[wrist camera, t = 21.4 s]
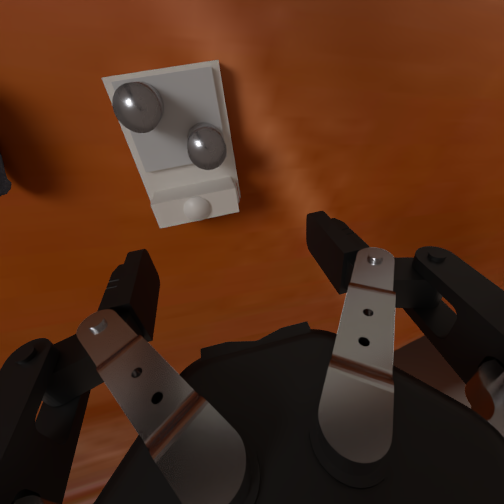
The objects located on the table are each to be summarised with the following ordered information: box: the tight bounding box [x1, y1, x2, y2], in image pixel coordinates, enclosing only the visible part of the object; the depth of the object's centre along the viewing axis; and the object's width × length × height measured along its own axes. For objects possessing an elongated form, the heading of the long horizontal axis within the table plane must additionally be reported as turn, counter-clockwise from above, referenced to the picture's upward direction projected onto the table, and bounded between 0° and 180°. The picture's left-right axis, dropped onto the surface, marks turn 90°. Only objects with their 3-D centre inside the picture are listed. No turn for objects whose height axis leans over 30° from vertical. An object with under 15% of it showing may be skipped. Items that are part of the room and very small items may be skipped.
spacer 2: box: [187, 122, 227, 170], centre depth 31 cm, size 4×4×5 cm
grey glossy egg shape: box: [112, 81, 164, 133], centre depth 27 cm, size 4×4×5 cm
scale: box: [102, 60, 241, 228], centre depth 32 cm, size 17×13×7 cm
